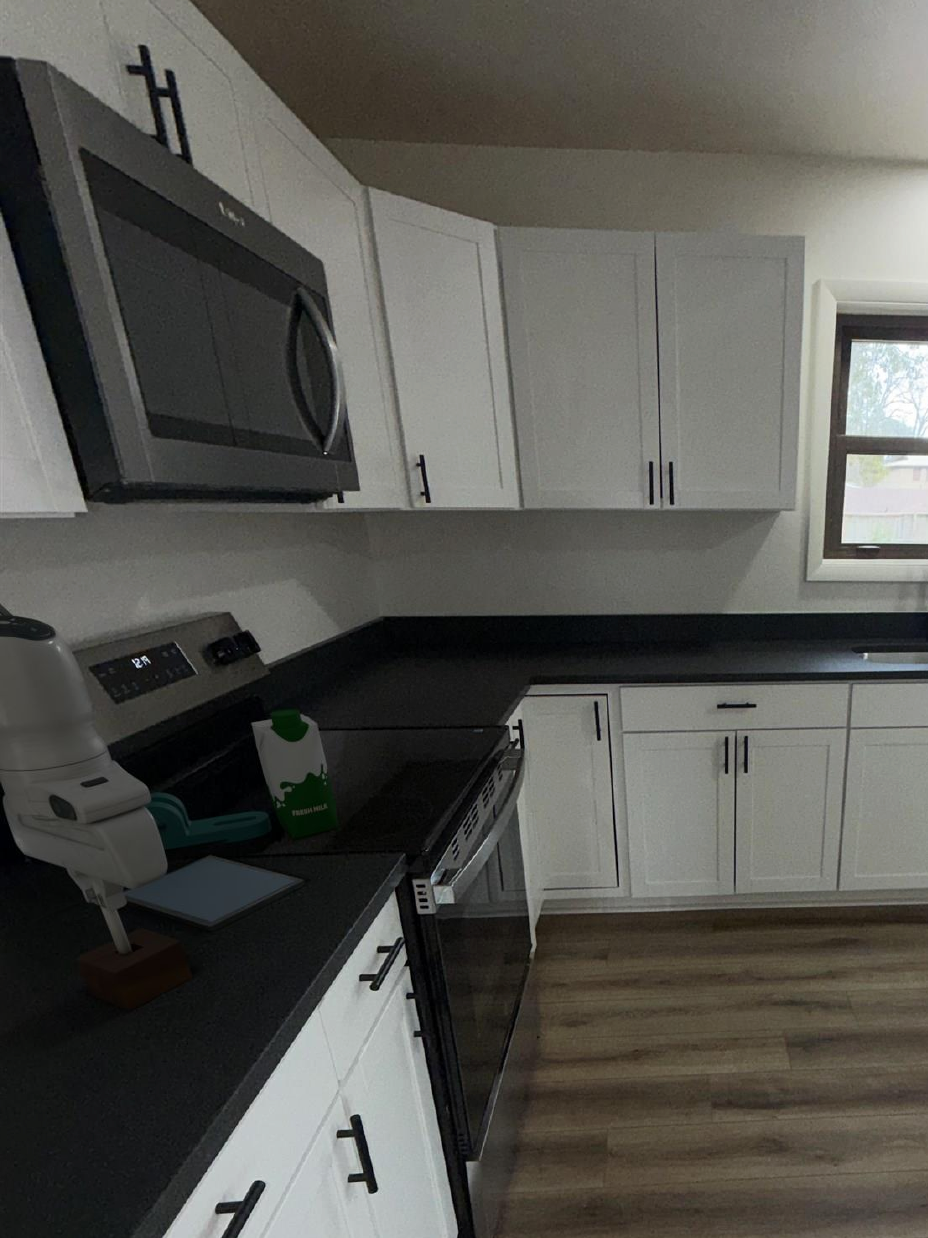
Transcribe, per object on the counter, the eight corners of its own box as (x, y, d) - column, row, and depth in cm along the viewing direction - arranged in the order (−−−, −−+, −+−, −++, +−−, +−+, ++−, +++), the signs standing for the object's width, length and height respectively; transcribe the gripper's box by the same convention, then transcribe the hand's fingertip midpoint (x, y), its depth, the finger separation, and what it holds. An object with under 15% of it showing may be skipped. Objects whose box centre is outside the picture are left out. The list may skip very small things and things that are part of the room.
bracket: (138, 858, 118) (121, 811, 115) (143, 842, 123) (127, 796, 120) (272, 835, 126) (259, 790, 122) (271, 820, 131) (259, 777, 128)
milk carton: (289, 843, 123) (257, 720, 115) (273, 826, 129) (241, 709, 121) (346, 828, 128) (319, 710, 120) (328, 812, 134) (301, 699, 126)
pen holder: (90, 995, 86) (74, 958, 84) (154, 963, 92) (141, 927, 90) (130, 1011, 84) (114, 973, 82) (193, 977, 90) (180, 940, 87)
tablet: (114, 901, 106) (112, 895, 105) (212, 860, 117) (210, 854, 117) (211, 932, 99) (209, 925, 98) (305, 885, 110) (304, 879, 110)
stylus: (121, 965, 86) (83, 868, 81) (132, 959, 87) (95, 863, 82) (127, 967, 86) (90, 870, 81) (138, 962, 87) (102, 865, 82)
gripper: (-33, 778, 79) (18, 897, 84) (89, 811, 71) (136, 939, 77) (38, 760, 84) (81, 873, 90) (159, 789, 76) (198, 911, 82)
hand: (107, 904), depth 83 cm, fingers closed on stylus, 1 cm apart
